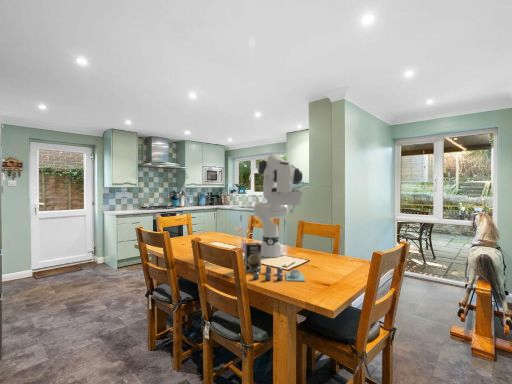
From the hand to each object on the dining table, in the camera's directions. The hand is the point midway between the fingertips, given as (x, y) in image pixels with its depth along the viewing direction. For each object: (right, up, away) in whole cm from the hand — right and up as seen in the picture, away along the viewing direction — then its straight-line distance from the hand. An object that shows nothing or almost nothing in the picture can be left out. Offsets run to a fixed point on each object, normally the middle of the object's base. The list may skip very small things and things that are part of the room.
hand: (283, 212), depth 156 cm
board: (+5, -36, -9) cm, 37 cm away
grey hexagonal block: (+5, -35, -9) cm, 37 cm away
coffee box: (-19, -36, +4) cm, 40 cm away
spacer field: (-10, -36, -7) cm, 38 cm away
